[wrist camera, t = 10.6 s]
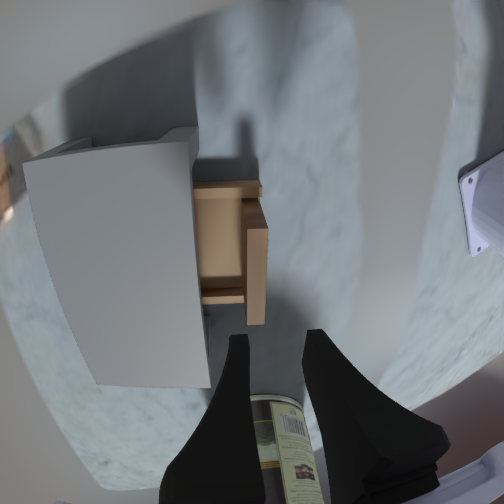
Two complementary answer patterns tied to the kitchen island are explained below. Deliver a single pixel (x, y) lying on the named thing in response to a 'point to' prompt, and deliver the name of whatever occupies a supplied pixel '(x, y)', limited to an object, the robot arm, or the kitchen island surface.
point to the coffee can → (285, 451)
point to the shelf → (126, 256)
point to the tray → (232, 244)
